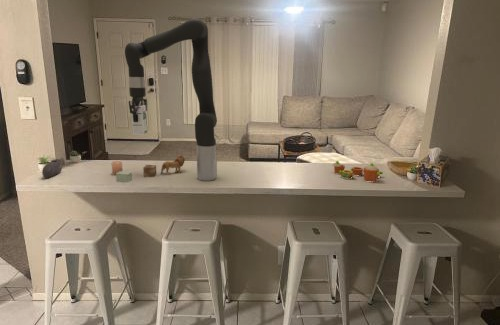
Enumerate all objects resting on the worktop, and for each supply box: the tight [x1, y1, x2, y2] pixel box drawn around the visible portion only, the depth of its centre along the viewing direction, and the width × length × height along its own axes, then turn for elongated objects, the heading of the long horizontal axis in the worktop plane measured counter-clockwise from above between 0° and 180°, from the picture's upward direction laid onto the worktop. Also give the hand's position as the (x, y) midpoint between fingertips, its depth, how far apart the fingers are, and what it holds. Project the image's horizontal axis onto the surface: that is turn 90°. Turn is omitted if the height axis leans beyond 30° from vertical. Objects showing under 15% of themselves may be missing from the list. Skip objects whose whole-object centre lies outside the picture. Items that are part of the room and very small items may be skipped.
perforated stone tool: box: [41, 158, 63, 179], centre depth 177 cm, size 15×5×7 cm, turn 179°
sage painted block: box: [115, 170, 133, 183], centre depth 172 cm, size 6×4×4 cm, turn 81°
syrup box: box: [130, 105, 148, 136], centre depth 176 cm, size 6×6×14 cm
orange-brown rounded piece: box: [111, 160, 124, 176], centre depth 182 cm, size 5×5×6 cm
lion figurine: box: [159, 154, 186, 176], centre depth 186 cm, size 15×5×9 cm, turn 133°
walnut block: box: [142, 164, 157, 178], centre depth 181 cm, size 5×5×5 cm
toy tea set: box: [332, 160, 384, 182], centre depth 187 cm, size 26×16×10 cm, turn 69°
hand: (139, 120), depth 177 cm, fingers closed on syrup box, 6 cm apart
